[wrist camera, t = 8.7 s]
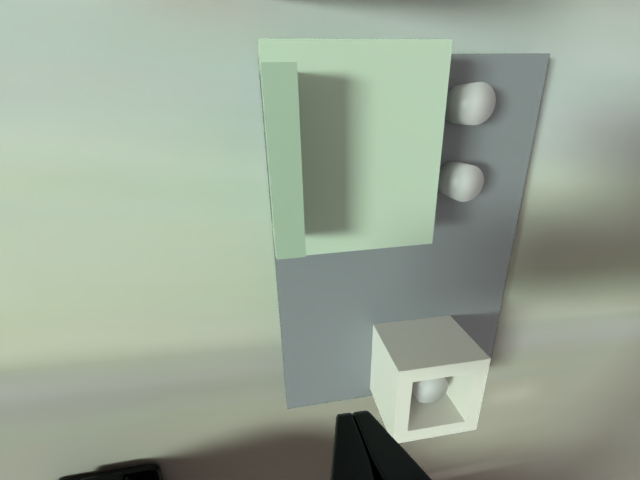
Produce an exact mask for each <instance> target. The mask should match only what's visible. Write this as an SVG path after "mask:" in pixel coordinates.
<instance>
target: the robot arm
mask: <svg viewBox="0 0 640 480" xmlns="http://www.w3.org/2000/svg"><path fill="white" fill-rule="evenodd" d="M63 480H163V478H162V474H161V471H160V468H159V466H157V465H155V464H149V465H143V466H137V467H132V468H126V469H120V470H115V471H109V472H103V473H97V474H92V475H86V476H80V477H75V478H69V479H63ZM330 480H432V479H431V478H430V477H429V476H428V475H427V474H426V473H425V472H424V471H423V470H422V468H421V467H420V466H419V465H418V464H417V463H416V462H415V461H414V460H413V459H412V458H411V457H410V456H409V454H408V453H407V452H406V451H405V450H404V449H403V448H402V447H401V446H400V445H399V444H398V443H397V442H396V440H395V439H394V438H393V437H392V436H391V435H390V434H389V433H388V432H387V431H386V430H385V429H384V427H383V426H382V425H381V424H380V423H379V422H378V421H377V420H376V419H375V418H374V417H373V416H372V415H371V413H370V412H368V411H359V412H354V413H353V414H351V413H344V414H338V415H337V417H336V426H335V436H334V447H333V457H332V468H331V478H330Z"/></svg>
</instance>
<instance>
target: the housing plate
mask: <svg viewBox="0 0 640 480" xmlns="http://www.w3.org/2000/svg"><path fill="white" fill-rule="evenodd" d="M549 56H550V54H451V62H450V72H449V82H448V92H447V102H446V112H445V122H444V132H443V142H442V152H441V162H440V172H439V182H438V192H437V202H436V212H435V222H434V231H433V241H432V244H422V245H412V246H401V247H390V248H380V249H369V250H358V251H348V252H337V253H326V254H316V255H306V257H300V258H289V259H279V260H277V258H276V255H275V266H276V278H277V290H278V302H279V314H280V326H281V338H282V350H283V362H284V374H285V386H286V398H287V408H288V409H291V408H297V407H303V406H309V405H315V404H322V403H328V402H334V401H340V400H346V399H353V398H359V397H365V396H371V395H372V392H371V390H370V378H371V358H372V338H373V324H381V323H389V322H398V321H406V320H415V319H423V318H432V317H440V316H449V315H450V316H451V317H452V318H453V319H454V320H455V321H456V322H457V323H458V324H459V325H460V327H461V328H462V329H463V330H464V331H465V332H466V333H467V334H468V335H469V336H470V337H471V338H472V339H473V340H474V341H475V342H476V343H477V345H478V346H479V347H480V348H481V349H482V350H483V351H484V352H485V353H486V354H487V355H488V356H489V357H490V358H491V354H492V349H493V344H494V339H495V334H496V329H497V323H498V318H499V313H500V308H501V303H502V298H503V293H504V287H505V282H506V277H507V272H508V267H509V262H510V256H511V251H512V246H513V241H514V236H515V231H516V226H517V220H518V215H519V210H520V205H521V200H522V195H523V190H524V184H525V179H526V174H527V169H528V164H529V159H530V153H531V148H532V143H533V138H534V133H535V128H536V123H537V117H538V112H539V107H540V102H541V97H542V92H543V87H544V81H545V76H546V71H547V66H548V61H549ZM258 63H259V59H258ZM259 75H260V71H259ZM260 87H261V75H260ZM261 99H262V87H261ZM262 111H263V99H262ZM263 123H264V111H263ZM264 135H265V123H264ZM265 147H266V135H265ZM266 159H267V147H266ZM267 171H268V159H267ZM268 183H269V171H268ZM269 195H270V184H269ZM270 207H271V196H270ZM271 219H272V208H271ZM272 230H273V227H272ZM273 242H274V238H273ZM274 254H275V246H274ZM447 389H448V382H447V380H446V378H445V377H444V378H438V379H431V380H424V381H417V382H413V385H412V392H413V394H414V396H415V398H416V399H417V400H418V401H419V402H421V403H432V402H435V401H437V400H439V399H440V398H441V397H443V396H444V394H445V393H446V391H447Z"/></svg>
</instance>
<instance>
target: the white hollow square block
mask: <svg viewBox="0 0 640 480" xmlns="http://www.w3.org/2000/svg"><path fill="white" fill-rule="evenodd" d="M490 361H491V358H490V357H489V356H488V355H487V354H486V353H485V352H484V351H483V350H482V349H481V348H480V347H479V346H478V345H477V343H476V342H475V341H474V340H473V339H472V338H471V337H470V336H469V335H468V334H467V333H466V332H465V331H464V330H463V329H462V328H461V327H460V325H459V324H458V323H457V322H456V321H455V320H454V319H453V318H452V317H451V316H450V315H449V316H440V317H432V318H423V319H415V320H406V321H398V322H389V323H381V324H373V338H372V358H371V378H370V390H371V392H372V395H373V397H374V400H375V402H376V405H377V407H378V410H379V412H380V415H381V417H382V420H383V422H384V425H385V427H386V429H387V432H388V433H389V434H390V435H391V436H392V437H393V438H394V439H395V440H396V442H397V443H403V442H408V441H414V440H420V439H425V438H431V437H437V436H442V435H448V434H454V433H459V432H465V431H471V430H476V428H477V423H478V418H479V413H480V409H481V404H482V399H483V394H484V389H485V385H486V380H487V375H488V370H489V366H490ZM444 377H445V378H446V380H447V382H448V389H447V391H446V393H445V394H444V396H443V397H441V398H440V399H439V400H437V401H435V402H432V403H421V402H419V401H418V400H417V399H416V398H415V396H414V394H413V392H412V385H413V382H417V381H424V380H431V379H438V378H444Z"/></svg>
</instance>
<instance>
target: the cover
mask: <svg viewBox="0 0 640 480" xmlns="http://www.w3.org/2000/svg"><path fill="white" fill-rule="evenodd" d="M452 43H453V39H258V59H259V71H260V75H261V87H262V99H263V111H264V123H265V135H266V147H267V159H268V171H269V184H270V196H271V208H272V227H273V238H274V246H275V255H276V258H277V260H279V259H289V258H300V257H306V255H316V254H326V253H337V252H348V251H358V250H369V249H380V248H390V247H401V246H412V245H422V244H432V241H433V231H434V222H435V212H436V202H437V192H438V182H439V172H440V162H441V152H442V142H443V132H444V122H445V112H446V102H447V92H448V82H449V72H450V62H451V52H452Z"/></svg>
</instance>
